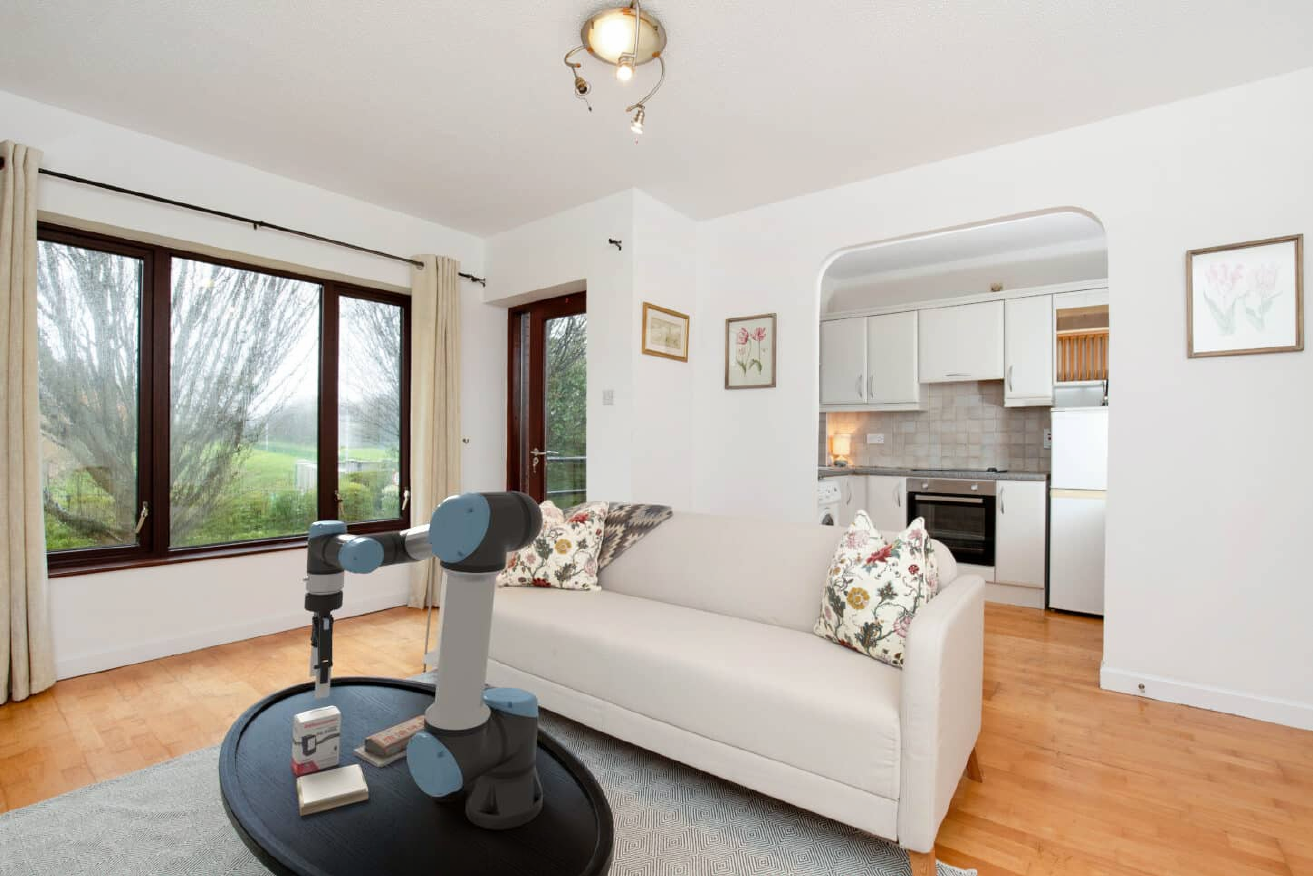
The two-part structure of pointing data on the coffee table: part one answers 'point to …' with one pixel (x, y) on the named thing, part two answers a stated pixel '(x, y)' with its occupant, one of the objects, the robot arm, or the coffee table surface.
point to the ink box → (316, 740)
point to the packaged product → (389, 743)
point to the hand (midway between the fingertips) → (319, 686)
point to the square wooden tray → (331, 789)
